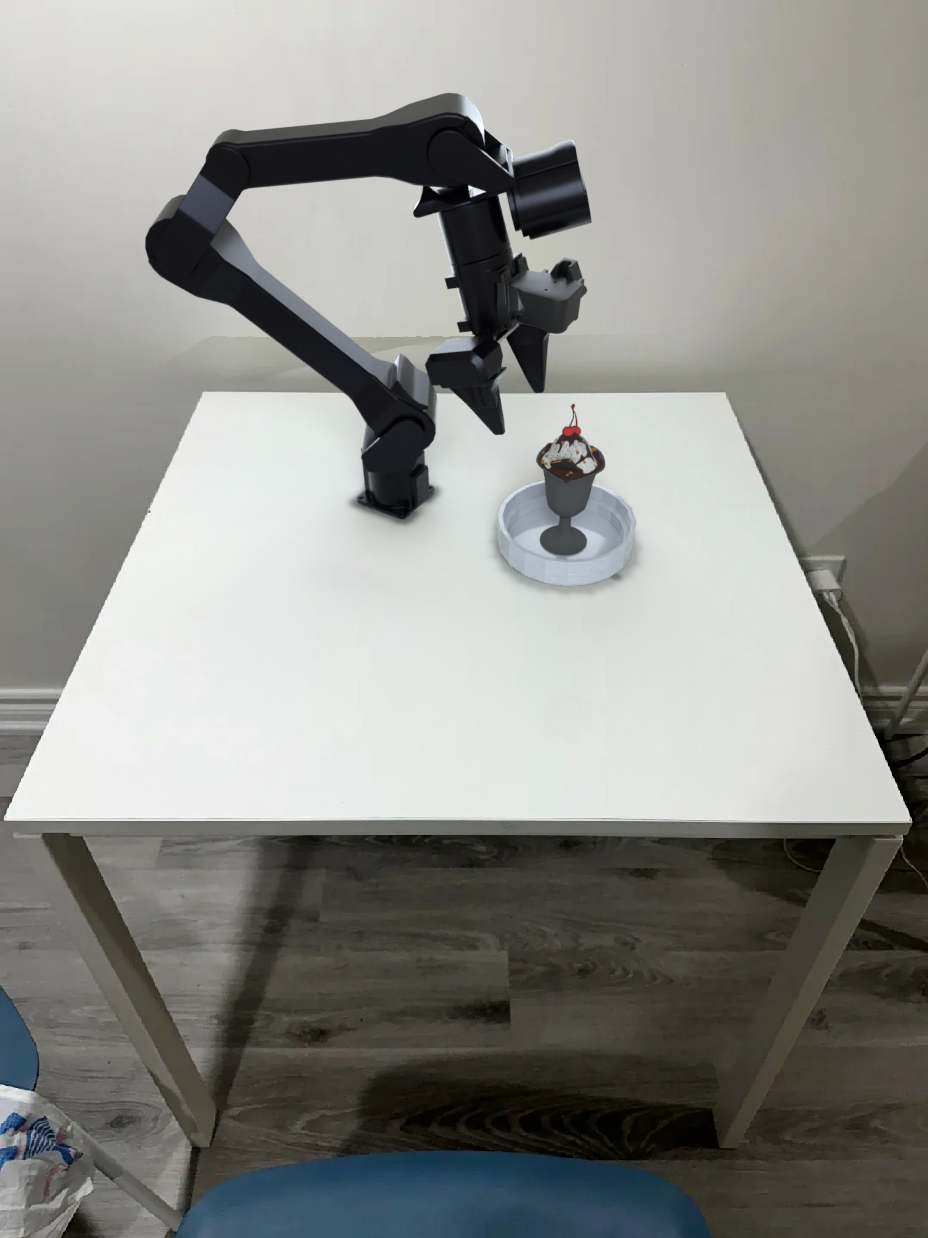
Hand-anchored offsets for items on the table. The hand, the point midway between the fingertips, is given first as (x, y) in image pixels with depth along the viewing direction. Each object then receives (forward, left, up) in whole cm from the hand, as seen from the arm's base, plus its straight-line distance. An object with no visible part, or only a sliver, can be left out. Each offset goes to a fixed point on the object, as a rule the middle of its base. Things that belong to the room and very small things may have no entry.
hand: (520, 412), depth 89 cm
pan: (+7, -2, -12) cm, 14 cm away
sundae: (+7, -2, -12) cm, 14 cm away
